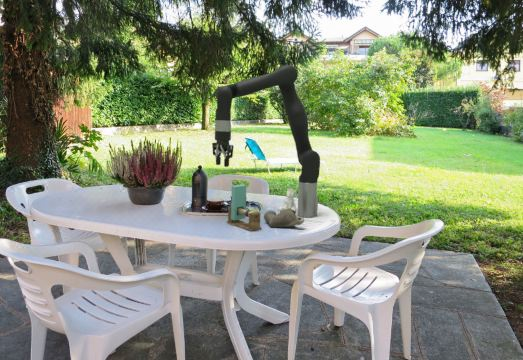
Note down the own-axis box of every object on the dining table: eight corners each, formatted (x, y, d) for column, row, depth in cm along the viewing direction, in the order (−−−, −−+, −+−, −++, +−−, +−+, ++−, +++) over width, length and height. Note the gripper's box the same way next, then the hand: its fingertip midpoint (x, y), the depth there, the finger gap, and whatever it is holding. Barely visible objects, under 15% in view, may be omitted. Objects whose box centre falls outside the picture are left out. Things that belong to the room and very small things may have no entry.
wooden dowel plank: (226, 222, 215) (227, 206, 214) (237, 221, 219) (237, 204, 218) (250, 231, 202) (251, 213, 201) (261, 229, 206) (261, 212, 205)
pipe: (280, 245, 210) (308, 228, 211) (275, 235, 203) (304, 218, 205) (264, 220, 221) (291, 204, 222) (259, 210, 214) (287, 193, 215)
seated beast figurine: (276, 211, 240) (277, 188, 238) (284, 208, 247) (284, 186, 245) (293, 214, 236) (294, 191, 233) (300, 210, 243) (301, 188, 241)
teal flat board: (231, 219, 212) (231, 186, 209) (242, 217, 216) (242, 184, 213) (234, 220, 210) (235, 186, 207) (245, 218, 214) (246, 185, 212)
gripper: (207, 129, 219) (207, 164, 222) (225, 131, 208) (225, 168, 211) (220, 128, 224) (219, 163, 227) (238, 131, 213) (238, 167, 216)
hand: (222, 165), depth 219 cm, fingers open, 6 cm apart
